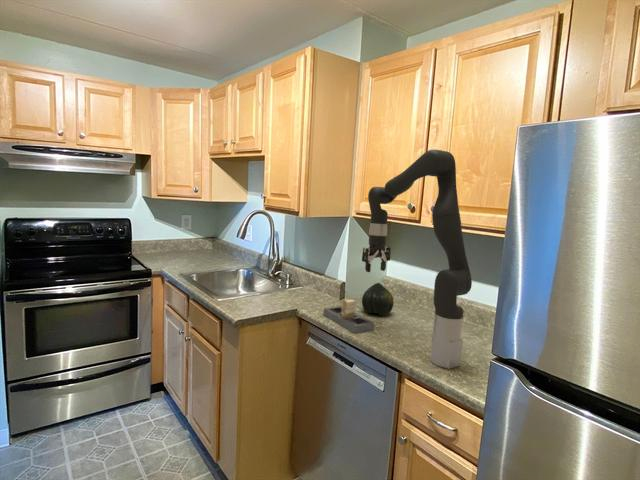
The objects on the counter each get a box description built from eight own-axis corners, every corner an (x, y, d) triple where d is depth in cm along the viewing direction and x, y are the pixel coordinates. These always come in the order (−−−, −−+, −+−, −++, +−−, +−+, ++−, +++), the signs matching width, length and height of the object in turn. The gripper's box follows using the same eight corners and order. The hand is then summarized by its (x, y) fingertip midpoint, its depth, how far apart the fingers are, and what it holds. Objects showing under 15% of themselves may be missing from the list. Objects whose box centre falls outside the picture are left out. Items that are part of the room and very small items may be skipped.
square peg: (353, 323, 165) (355, 301, 163) (346, 324, 163) (347, 302, 161) (348, 320, 168) (349, 298, 167) (340, 321, 166) (342, 299, 165)
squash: (378, 309, 168) (391, 282, 174) (352, 302, 178) (365, 276, 184) (390, 325, 176) (402, 298, 182) (364, 317, 187) (377, 292, 193)
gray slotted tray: (373, 329, 158) (374, 323, 158) (354, 333, 153) (355, 326, 152) (340, 312, 178) (341, 306, 178) (323, 314, 173) (323, 308, 172)
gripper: (371, 235, 153) (368, 274, 155) (396, 234, 161) (393, 271, 163) (359, 233, 160) (357, 270, 161) (384, 232, 167) (381, 268, 169)
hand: (375, 271), depth 162 cm, fingers open, 8 cm apart
